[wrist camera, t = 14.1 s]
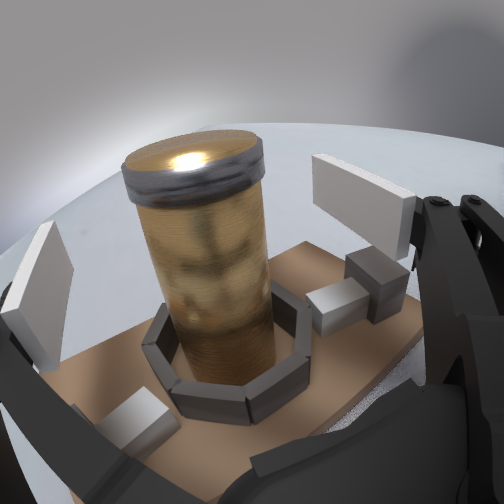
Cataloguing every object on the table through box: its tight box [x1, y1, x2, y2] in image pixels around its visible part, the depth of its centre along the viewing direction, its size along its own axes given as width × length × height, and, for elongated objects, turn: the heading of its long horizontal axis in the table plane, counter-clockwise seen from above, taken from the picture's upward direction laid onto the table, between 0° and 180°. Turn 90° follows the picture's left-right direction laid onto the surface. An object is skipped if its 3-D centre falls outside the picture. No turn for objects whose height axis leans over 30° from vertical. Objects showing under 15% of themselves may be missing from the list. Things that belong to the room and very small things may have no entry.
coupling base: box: [39, 241, 424, 504], centre depth 17 cm, size 24×13×5 cm, turn 127°
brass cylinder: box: [121, 130, 276, 386], centre depth 15 cm, size 5×5×12 cm
